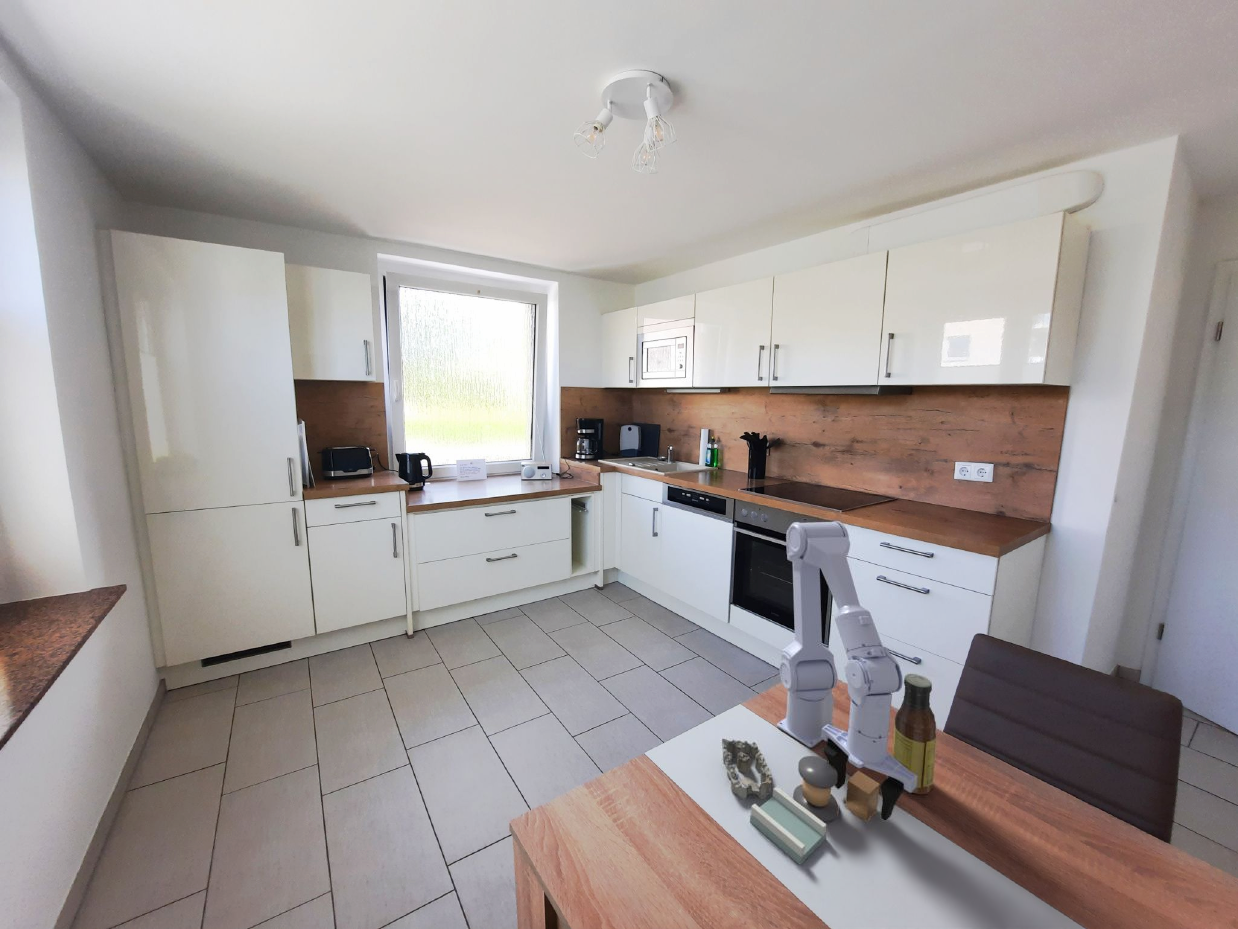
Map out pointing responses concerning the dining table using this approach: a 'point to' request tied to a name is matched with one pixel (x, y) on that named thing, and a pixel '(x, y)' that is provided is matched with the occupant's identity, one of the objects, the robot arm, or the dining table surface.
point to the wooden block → (862, 795)
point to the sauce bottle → (916, 732)
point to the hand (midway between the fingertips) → (862, 800)
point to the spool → (817, 788)
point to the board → (789, 825)
